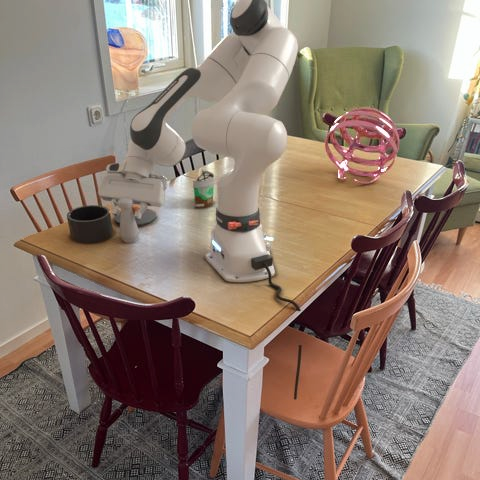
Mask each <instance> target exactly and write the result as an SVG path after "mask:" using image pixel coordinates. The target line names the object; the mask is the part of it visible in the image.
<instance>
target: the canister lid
mask: <svg viewBox="0 0 480 480" xmlns="http://www.w3.org/2000/svg"><path fill="white" fill-rule="evenodd" d="M131 208H132V211H133V214H135V211H138V210H139V209H140V208H141V207H139V205H137V204H133V206H132V207H131ZM120 217H121V210H120V213H119V216H114V215H113V220H114V222H115V223H116V224H118V225H120ZM157 217H158V215H157V212H156V211H155V210H154V209H153V210H152V209H151V208H147V210H146V211H145V212H144V213H143V214H142V216H141V219H137V218H135V220H136V224H137V227H140V226H146V225H149V224H151V223H152V222H153V223H154V222H155V221H156V220H157Z"/></svg>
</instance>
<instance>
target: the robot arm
mask: <svg viewBox="0 0 480 480" xmlns="http://www.w3.org/2000/svg"><path fill="white" fill-rule="evenodd" d="M229 25H230V27H231V29H232V31H233V32H230V33H229V34H227V35H226V36H225V37H223V39H221V41H220V42H219V43H217V44H216V46H214V48H213V49H212V50H211V51H210V53H209V54H208V55H207V56H206V58H205V59H204V60H203V62H202V63H201V64H199V65H198V66H196V67H189V68H186V69H185V70H183V71H182V72H181V73H180V74H178V75H177V76H176V77H175V78H174V79H173V80H172V81H171V82H170V83H169V84H168V85H167V86H166V87H165V88H164V89H163V90H162V91H161V92H160V93H159V94H158V95H157V97H155V98H154V99H153V100H152V101H151V102H150V103H149V104H148V105H147V106H146V107H144V108H143V109H142V110H140V111H138V112H137V113H136V114H135V115H134V116H133V118H132V119H131V122H130V126H129V134H130V137H129V141H128V145H127V154H126V156H125V157H124V160H122V161H118V162H114V163H110V164H107V166H106V168H105V171H106V173H105V174H103V176H102V178H101V180H100V183H99V187H98V189H97V194H98V196H99V197H100V198H101V199H102V200H103V201H106V202H110V203H111V204H110V205H111V207H112V210H111V215H112V216H113V217H114V216H119V213H120V211H121V209H120V210H119V209H118V200H119V199H121V198H130V199H132V201H133V204H136V205H138V206H140V207H139V208H140V209H139V210H138V211H135V214H134V217H135V218H137V219H141V216H142V214H143V213H144V212H145V211H146V210H147V209H148V207H154V208H161V207H163V206H164V204H165V199H166V190H167V189H168V184H169V180H168V178H166V177H165V176H164V175H157V174H154V170H155V166H156V165H158V166H161V167H175V166H176V165H178V164H180V163H181V162H182V160H183V159H184V157H185V155H186V151H187V144H186V142H185V141H184V139H183V138H182V137H181V136H180V135H179V134H178V132H176V131H175V130H174V129H173V128H172V127H171V126H170V125H168V123H167V120H168V118H169V117H170V115H172V114H173V113H174V112H175V111H176V110H177V109H178V108H179V107H180V105H181V104H182V103H183V102H184V101H185V100H187V99H189V98H198V99H200V100H203V101H205V102H208V103H214V104H211V105H210V106H208V107H206V108H203V109H201V110H199V111H198V112H197V113H196V115H195V116H194V118H193V121H192V123H191V136H192V140H193V142H194V144H195V146H197V147H198V148H199V149H202V150H204V151H206V152H207V153H210V154H212V155H218V156H224V157H229V158H232V159H234V164H233V165H234V166H233V169H230V170H228V171H226V172H224V173H223V174H222V175H221V176H220V177H219V179H218V181H217V183H216V195H217V196H216V198H217V199H216V200H217V205H216V206H217V207H216V209H215V222H216V224H215V225H214V227H213V228H212V229H211V230H210V251H209V252H208V253H206V254H205V260H206V261H207V263H209V264H210V265H211V267H212V268H213V269H214V270H215V271H216V272H217V273H218V275H220V276H221V277H222V279H224V280H225V282H228V283H229V282H230V283H249V282H250V283H251V282H256V281H257V282H258V281H262V280H266V279H268V283H269V286H271V287H272V288H275V289H277V292H276V298H277V299H278V300H280V301H282V302H284V303H285V302H286V303H289V304H292V305H293V306H294V307H295V309H296V310H297V312H301V311H302V310H301V308H300V305H299V304H298V303H297V302H295V301H294V300H292V299H289V298H284V297H282V296H281V295H280V294H281V293H282V287H281V286H280V285H277V284H275V283H273V281H272V277H273V276H275V274H276V271H275V267H274V264H273V263H274V262H273V261H274V257H273V256H271V253H270V252H271V251H272V243H271V242H266V241H272V242H273V241H274V237H269V236H267V233H266V232H263V224H261V213H260V212H261V211H260V208H259V198H260V197H259V196H260V195H259V194H260V187H261V186H260V185H261V181H262V178H263V176H264V173H265V172H266V171H267V169H268V168H269V167H270V166H271V165H272V164H274V163H275V162H277V161H278V160H279V159H280V158H282V156H283V154H284V153H285V152H286V151H285V150H286V149H287V145H288V132H287V128H286V127H285V125H284V123H283V122H282V121H281V120H279V119H276V118H274V117H271V116H269V115H266V114H267V113H269V112H270V111H272V110H273V109H275V108H276V106H277V105H278V103H279V101H280V99H281V97H282V95H283V92H284V90H285V88H286V86H287V84H288V81H289V79H290V77H291V74H292V72H293V69H294V66H295V63H296V61H297V57H298V52H299V51H298V50H299V43H298V39H297V37H296V36H295V34H294V33H293V32H292V31H291V30H290V29H288V28H286V27H283V25H282V23H281V21H280V19H279V18H278V17H277V15H276V14H275V13H274V12H273V10H272V9H271V8H270V7H269V6H268V4H267V1H266V0H238V1H237V2H236V3H235V4H234V6H233V8H232V9H231V11H230V15H229ZM302 347H303V345H302V344H298V353H297V364H296V365H297V366H296V373H295V380H294V391H293V400H294V401H296V400H297V399H298V388H299V387H298V386H299V380H300V379H299V378H300V371H301V362H302V361H301V360H302Z"/></svg>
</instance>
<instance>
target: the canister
mask: <svg viewBox="0 0 480 480" xmlns="http://www.w3.org/2000/svg"><path fill="white" fill-rule="evenodd" d="M111 215H112V214H111V210H110V208H108V207H107V206H104V205H97V204H95V205H94V204H90V205H89V204H88V205H83V206H82V205H81V206H79V207H75V208H73V209H71V210H69V211H68V212H67V213H66V220H67V224H68V229H69V233H70V238H71V240H73V241H74V242H76V243H78V244H96V243H101V242H104V241H106V240H108V239H110V238H111V237H112V236H113V235H114V229H113V223H112V217H111Z"/></svg>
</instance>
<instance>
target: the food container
mask: <svg viewBox="0 0 480 480" xmlns="http://www.w3.org/2000/svg"><path fill="white" fill-rule="evenodd" d="M216 182H217V180H216V177H215V175H214V173H213V172H211V171H210V170H209V171H208V170H203V169H202V170H201V174H200V175H198V177H197V179H196V180H193V181H192V188H193V195H194V207H195V209H207V208H210V207H211V206H213V204H214V189H215V188H214V187H215V184H216Z"/></svg>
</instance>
